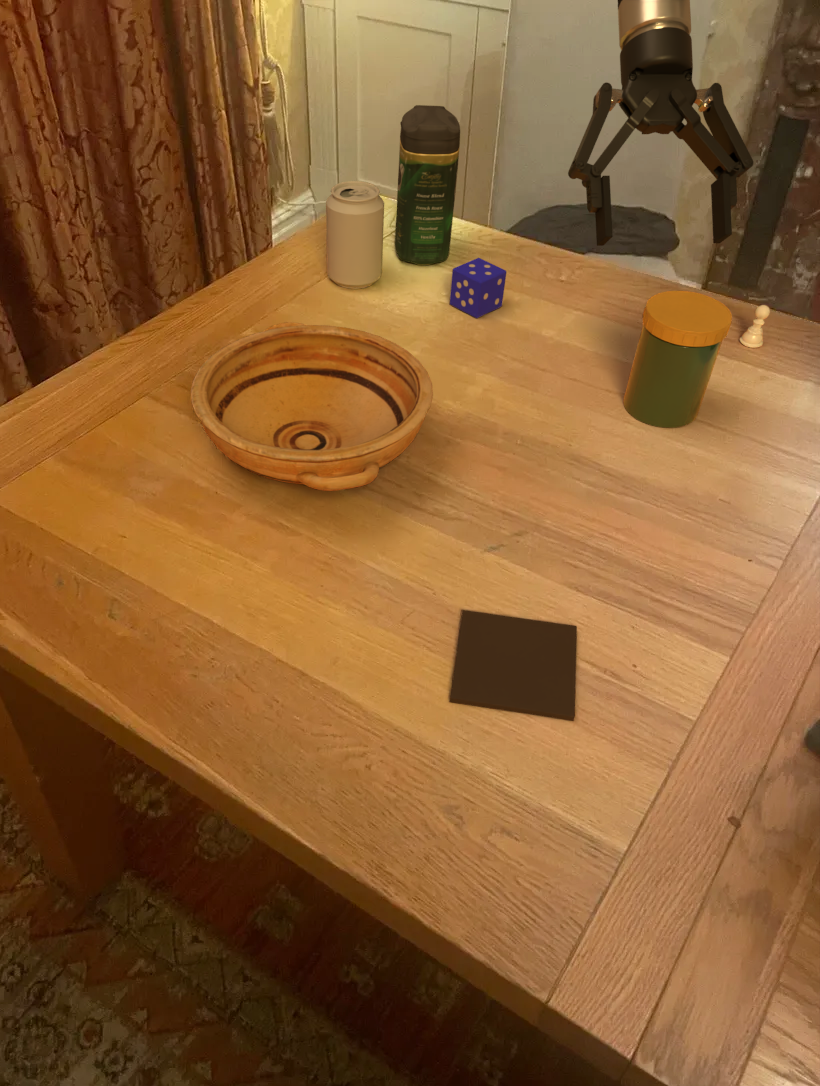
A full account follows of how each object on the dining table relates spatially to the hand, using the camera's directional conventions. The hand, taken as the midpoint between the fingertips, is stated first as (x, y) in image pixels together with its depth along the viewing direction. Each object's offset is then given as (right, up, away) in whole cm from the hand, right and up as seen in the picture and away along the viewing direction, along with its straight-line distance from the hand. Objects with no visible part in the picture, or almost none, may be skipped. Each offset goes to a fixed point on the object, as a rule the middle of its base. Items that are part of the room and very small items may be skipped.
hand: (664, 240), depth 100 cm
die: (-18, -1, +20) cm, 27 cm away
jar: (+1, -18, +4) cm, 18 cm away
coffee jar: (-25, +10, +30) cm, 40 cm away
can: (-35, +4, +24) cm, 42 cm away
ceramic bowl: (-38, -24, -3) cm, 45 cm away
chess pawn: (+16, -7, +14) cm, 23 cm away
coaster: (-20, -45, -24) cm, 55 cm away
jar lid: (+1, -9, -4) cm, 10 cm away
